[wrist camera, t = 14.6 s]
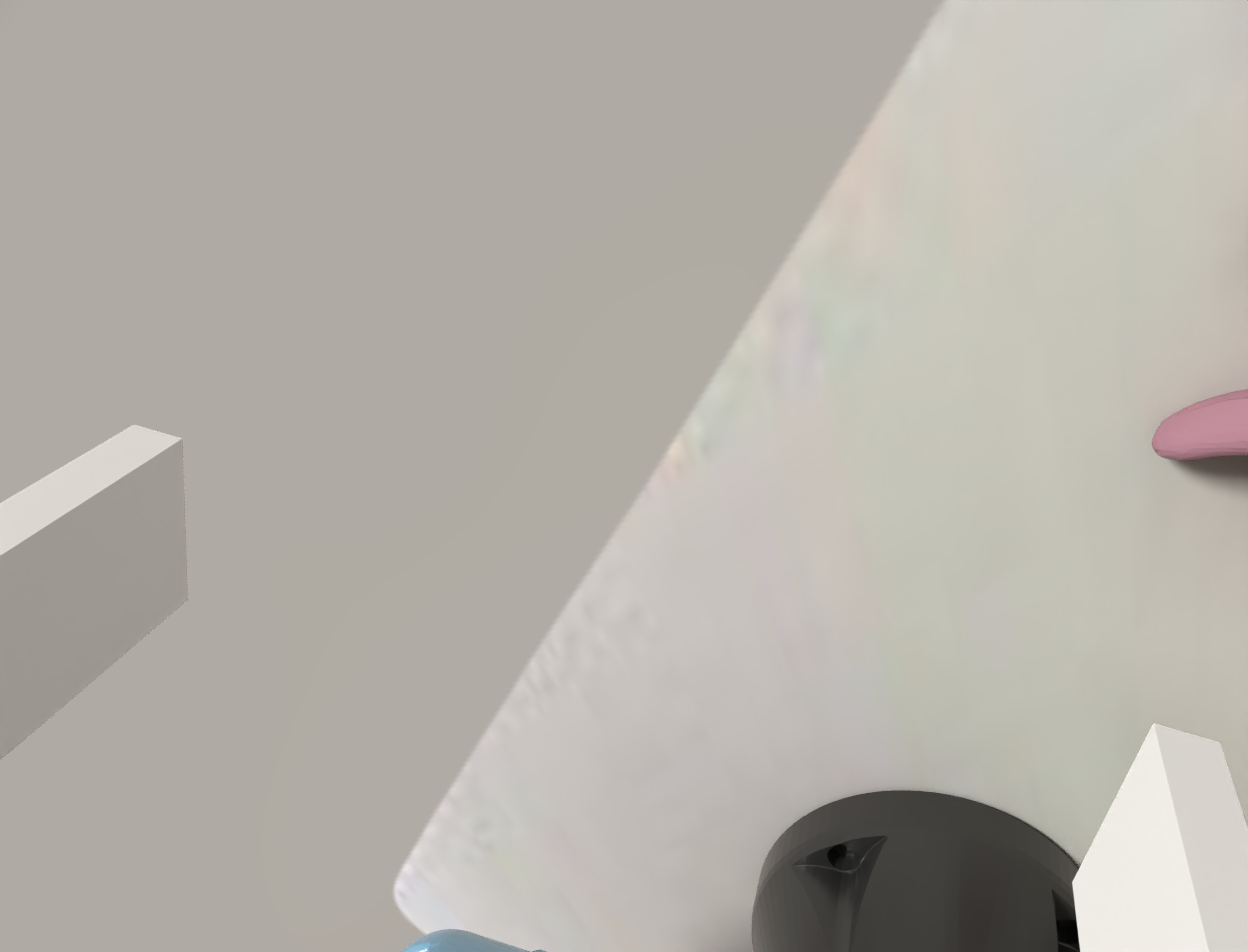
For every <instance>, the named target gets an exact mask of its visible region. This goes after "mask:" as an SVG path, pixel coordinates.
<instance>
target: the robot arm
mask: <svg viewBox="0 0 1248 952" xmlns="http://www.w3.org/2000/svg"><path fill="white" fill-rule="evenodd" d="M182 444H183V442H182V438H178V437H175V436H171V435H168V434H164V433H161V432H158V431H154V430H151V429H148V428H144V427H141V426H137V425H132V426H131V427H129V428H127V429H126V430H124V431H122V432H121V433H119V434H117V435H115V436H114V437H112V438H110V439H109V440H107V441H105V442H104V443H102V444H100V445H99V446H97V447H95V448H93V449H92V450H90V451H88V452H87V453H85V454H83V455H81V456H80V457H78V458H76V459H75V460H73V461H71V462H69V463H68V464H66V465H64V466H63V467H61V468H59V469H58V470H56V471H54V472H53V473H51V474H49V475H47V476H46V477H44V478H42V479H41V480H39V481H37V482H35V483H34V484H32V485H30V486H29V487H27V488H25V489H24V490H22V491H20V492H18V493H17V494H15V495H13V496H12V497H10V498H8V499H7V500H5V501H3V502H2V503H0V760H1V759H2V758H3V757H5V756H6V755H7V754H8V753H9V752H11V751H12V750H13V749H14V748H15V747H16V746H18V745H19V744H20V743H21V742H22V741H23V740H25V739H26V738H27V737H28V736H29V735H30V734H32V733H33V732H34V731H35V730H36V729H37V728H39V727H40V726H41V725H42V724H43V723H44V722H46V721H47V720H48V719H49V718H50V717H51V716H53V715H54V714H55V713H56V712H57V711H58V710H60V709H61V708H62V707H63V706H64V705H65V704H67V703H68V702H69V701H70V700H71V699H73V698H74V697H75V696H76V695H77V694H78V693H80V692H81V691H82V690H83V689H84V688H85V687H86V686H88V685H89V684H90V683H91V682H92V681H94V680H95V679H96V678H97V677H98V676H99V675H101V674H102V673H103V672H104V671H105V670H106V669H107V668H109V667H110V666H111V665H112V664H113V663H115V662H116V661H117V660H118V659H119V658H121V657H122V656H123V655H124V654H125V653H126V652H128V651H129V650H130V649H131V648H132V647H133V646H135V645H136V644H137V643H138V642H139V641H140V640H142V639H143V638H144V637H145V636H146V635H147V634H149V633H150V632H151V631H152V630H153V629H154V628H156V627H157V626H158V625H159V624H160V623H161V622H163V621H164V620H165V619H166V618H167V617H168V616H170V615H171V614H172V613H173V612H174V611H175V610H177V609H178V608H179V607H180V606H181V605H182V604H184V603H185V602H186V601H187V600H188V587H187V586H188V585H187V558H186V529H185V500H184V473H183V445H182ZM752 943H753V949H754V952H1248V828H1247V825H1246V822H1245V819H1244V815H1243V812H1242V809H1241V806H1240V803H1239V800H1238V797H1237V794H1236V790H1235V787H1234V784H1233V781H1232V778H1231V775H1230V772H1229V769H1228V765H1227V762H1226V759H1225V756H1224V753H1223V750H1222V747H1221V744H1220V742H1217V741H1213V740H1210V739H1207V738H1203V737H1200V736H1196V735H1193V734H1189V733H1186V732H1183V731H1179V730H1176V729H1172V728H1169V727H1166V726H1162V725H1159V724H1155V723H1153V725H1152V727H1151V729H1150V731H1149V733H1148V735H1147V737H1146V739H1145V741H1144V743H1143V745H1142V747H1141V749H1140V751H1139V753H1138V755H1137V756H1136V758H1135V760H1134V762H1133V764H1132V766H1131V768H1130V770H1129V772H1128V774H1127V776H1126V778H1125V780H1124V782H1123V784H1122V786H1121V788H1120V790H1119V792H1118V794H1117V796H1116V798H1115V800H1114V802H1113V803H1112V805H1111V807H1110V809H1109V811H1108V813H1107V815H1106V817H1105V819H1104V821H1103V823H1102V825H1101V827H1100V829H1099V831H1098V833H1097V835H1096V837H1095V839H1094V841H1093V843H1092V845H1091V847H1090V848H1089V850H1088V852H1087V854H1086V856H1085V858H1084V860H1083V862H1082V864H1081V866H1080V868H1079V869H1078V868H1077V867H1076V865H1075V864H1074V863H1073V862H1072V861H1071V860H1070V859H1069V858H1068V856H1067V855H1065V854H1064V853H1063V852H1062V851H1061V850H1060V849H1059V848H1058V847H1057V846H1056V845H1055V844H1053V843H1052V842H1051V841H1050V840H1049V839H1047V838H1046V837H1044V836H1043V835H1042V834H1040V833H1039V832H1038V831H1036V830H1034V829H1033V828H1031V827H1030V826H1028V825H1026V824H1025V823H1023V822H1021V821H1019V820H1017V819H1016V818H1014V817H1012V816H1010V815H1007V814H1005V813H1003V812H1001V811H999V810H996V809H994V808H991V807H989V806H986V805H983V804H980V803H977V802H974V801H970V800H967V799H963V798H959V797H955V796H950V795H945V794H939V793H932V792H923V791H881V792H873V793H866V794H860V795H855V796H851V797H848V798H844V799H841V800H838V801H835V802H832V803H829V804H827V805H825V806H822V807H820V808H818V809H816V810H814V811H812V812H810V813H809V814H807V815H806V816H804V817H802V818H801V819H800V820H798V821H797V822H795V823H794V824H793V825H792V826H791V827H790V828H788V829H787V830H786V831H785V832H784V833H783V834H782V835H781V837H780V838H779V839H778V840H777V841H776V843H775V844H774V845H773V847H772V849H771V850H770V852H769V854H768V856H767V858H766V860H765V862H764V865H763V867H762V871H761V874H760V879H759V883H758V888H757V893H756V897H755V902H754V907H753V914H752ZM401 952H529V951H526V950H523V949H520V948H517V947H514V946H511V945H508V944H505V943H502V942H499V941H496V940H492V939H489V938H486V937H483V936H480V935H477V934H474V933H471V932H468V931H463V930H457V929H446V930H440V931H436V932H432V933H430V934H428V935H425V936H423V937H422V938H420V939H418V940H416V941H414V942H413V943H412V944H410V945H409V946H408V947H406V948H405V949H404V950H402V951H401ZM532 952H546V951H543V950H536V951H532Z"/></svg>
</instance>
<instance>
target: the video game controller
mask: <svg viewBox="0 0 1248 952" xmlns="http://www.w3.org/2000/svg"><path fill="white" fill-rule="evenodd" d="M1152 446H1153V449H1154V450H1155V452H1156V453H1157V454H1158V455H1159V456H1161V457H1164V458H1168V459H1175V460H1183V461H1188V460H1195V459H1203V458H1212V457H1221V456H1241V455H1248V389H1247V390H1242V391H1236V392H1231V393H1227V394H1224V395H1220V396H1217V397H1213V398H1209V399H1206V400H1203V401H1201V402H1198V403H1195V404H1193V405H1191V406H1189V407H1187V408H1185V409H1183V410H1181V411H1179V412H1177V413H1175V414H1173V415H1171V416H1170V417H1169V418H1167V419H1166V420H1164V421H1163V422H1162V423H1161V425H1160V426H1159V428H1158V429H1157V430H1156V432H1155V434H1154V437H1153V440H1152Z"/></svg>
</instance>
